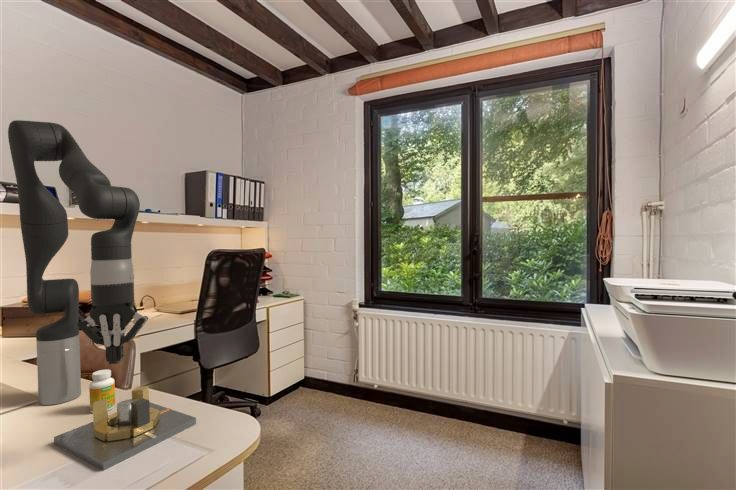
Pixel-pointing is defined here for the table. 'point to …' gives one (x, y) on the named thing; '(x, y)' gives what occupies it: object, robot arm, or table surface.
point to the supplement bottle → (102, 388)
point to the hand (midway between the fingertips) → (115, 362)
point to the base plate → (119, 450)
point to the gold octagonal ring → (140, 417)
